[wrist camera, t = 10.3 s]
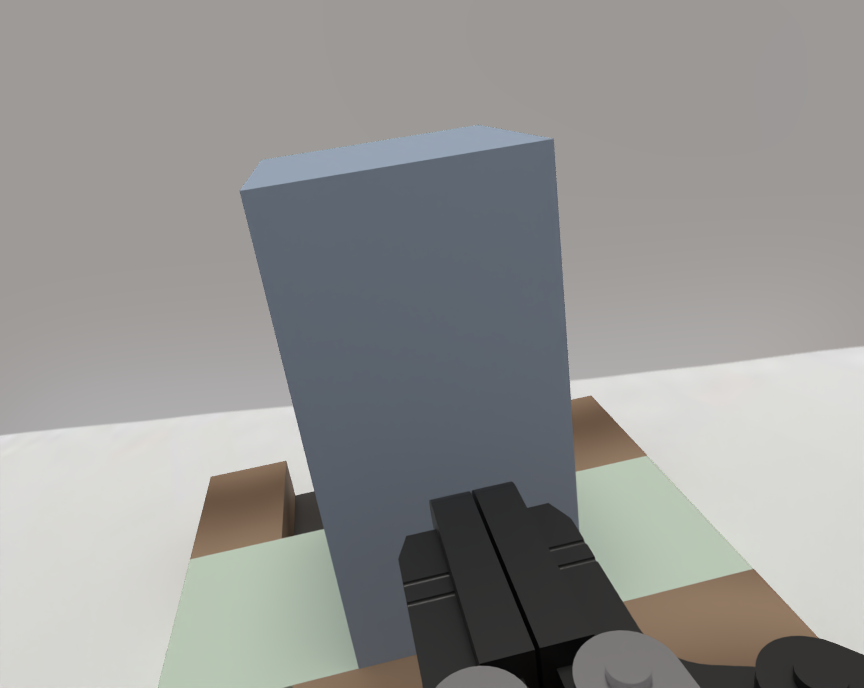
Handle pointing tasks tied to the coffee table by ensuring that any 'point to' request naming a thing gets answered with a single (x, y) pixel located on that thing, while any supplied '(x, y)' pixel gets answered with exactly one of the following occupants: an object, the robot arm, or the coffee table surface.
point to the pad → (323, 609)
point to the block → (416, 340)
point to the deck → (593, 447)
